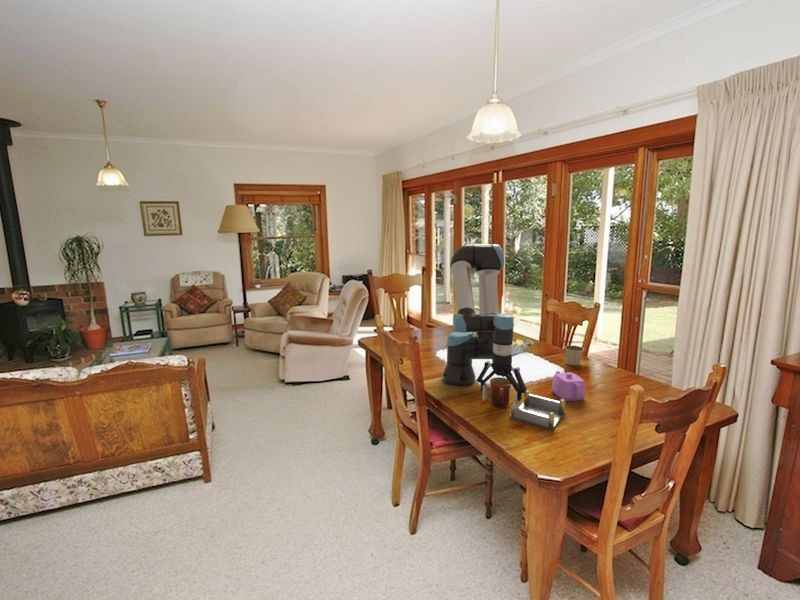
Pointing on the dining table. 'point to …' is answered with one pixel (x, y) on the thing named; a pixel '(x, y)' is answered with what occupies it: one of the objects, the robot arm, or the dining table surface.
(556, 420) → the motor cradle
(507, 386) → the mug
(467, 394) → the dining table surface
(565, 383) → the teapot
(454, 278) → the robot arm
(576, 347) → the flower pot
